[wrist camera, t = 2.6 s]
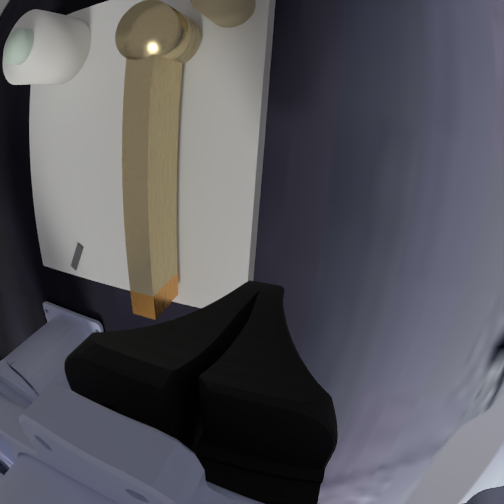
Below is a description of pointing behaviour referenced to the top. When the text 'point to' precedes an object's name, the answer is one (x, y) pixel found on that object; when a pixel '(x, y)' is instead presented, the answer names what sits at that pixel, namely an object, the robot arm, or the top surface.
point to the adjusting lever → (152, 146)
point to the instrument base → (110, 140)
